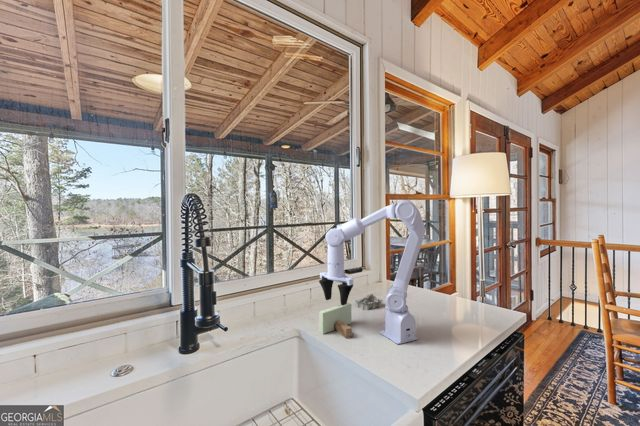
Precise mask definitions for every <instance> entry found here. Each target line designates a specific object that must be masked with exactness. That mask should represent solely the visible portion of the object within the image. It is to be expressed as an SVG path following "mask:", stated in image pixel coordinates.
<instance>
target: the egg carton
mask: <svg viewBox="0 0 640 426" xmlns="http://www.w3.org/2000/svg"><path fill="white" fill-rule="evenodd" d="M383 301H384V300H383V299H380V298H378V299H377V296H375V295H374V294H373V293H370V294H368V295H366V297H363V298H359V299H358V300H357V299H356V300H354V302H355V304H356V305H355V306H356V308H360V309H361V310H362V311H369V310H370V309H372V310H373V309H376V308H381V307H382V302H383Z"/></svg>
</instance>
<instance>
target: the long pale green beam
mask: <svg viewBox="0 0 640 426" xmlns="http://www.w3.org/2000/svg"><path fill="white" fill-rule="evenodd" d="M340 320H341V321H342V322H344V323H345V324H347V325H348V326H349V325H350V324H352V303H349V302H347V304H346V305H341V304H339V305H335V306H332V307H328V308H326V309H323V310H319V311H318V333H320V334H322V335H325V334H327V333H329V332H331V331H334V330H335V329H334V324H336V321H340Z"/></svg>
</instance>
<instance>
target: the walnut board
mask: <svg viewBox="0 0 640 426" xmlns="http://www.w3.org/2000/svg"><path fill="white" fill-rule="evenodd" d="M334 330H335V331H336V332H337V333H338V334H340V335H341V336H343V337H344V338H345V339H351V338H352V337H353V336H352V335H353V334H352V333H353V332H352V331H353V329H352V327H351V326H349V324H348V325H347V324H345V323H344V322H342V321H341V320H340V321H336V324H334Z"/></svg>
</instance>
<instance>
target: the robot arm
mask: <svg viewBox="0 0 640 426" xmlns="http://www.w3.org/2000/svg"><path fill="white" fill-rule="evenodd" d="M396 218H398V220H400V221H401V222H402V223H404V226H405V227H406V228H407V230H408V231H409V234H408V237H407V240H406V244H405V247H404V250H403V253H402V256H401V259H400V262H399V265H398V268H397V272H396V275H395V278H394V281H393V283H392V285H391V286H390V287H389V288H388V290H387V294H386V296H385V307H384V308H385V309H384V315H385V316H384V318H385V320H384V324H385V325H384V329H382V330H380V331H379V334H381V335H383V336H384V337H386V338H387V339H388V340H390V341H392V342H393V343H395V344H397V345H400V344H404V343H408V342H412V341H416V340H418V337H416V318H415V316H414V315H413V314H411V313H410V311H409V306H408V305H407V298H408V288H409V283H410V280H411V278H412V275H413V272H414V268H415V266H416V262H417V260H418V256H419V254H420V251H421V248H422V244H423V241H424V237H425V235H426V234H425V233H426V227H425V224H424V220H423V218H422V215H421V212H420V210H419V209H418V207H417V206H416V205H415V203H414V202H412V201H411V200H401V201H399V202H398V203H397V202H396V203H393V204H389V205H387V206H383V207H382V208H380V209H378V210H377V211H374V212H372V213H370V214H369V215H367V216H365V217H363V218H358V217H351V218H349V219H348V221H347V222H346V221H345V222H344V223H343V224H339V223H338V224H337V225H336V228H331V229H329V230H328V231H327V232H326V234H325V242H326V243H327V255H326V256H327V257H326V258H327V261H326V262H327V272H325V271H321V272H319V279H320V280H319V281H318V283H319V284H320V286H321V288H322V290H323V295H324V298H325V300H326V301H329V300H332V294H333V292H332V291H333V284H334V282H338V283H341V284H337V288H338V291H339V299H340V305H346V304H347V303H348V300H349V296H350V293H351V291H352V289H353V287H354V278H352V277H349V276H347V275H346V274H345V249H344V247H345V246H344V242H345V241H346V242H347V241H349V240H351V239H354V238H355V237H357V236H360V235H362V234H363V233H364V232H365V229H366V228H367V227H369V226H371V225H374V224H376V223H379V222H381V221H384V220H385V219H396Z"/></svg>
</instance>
